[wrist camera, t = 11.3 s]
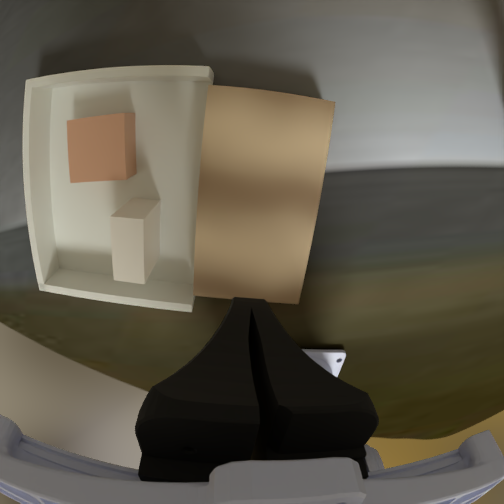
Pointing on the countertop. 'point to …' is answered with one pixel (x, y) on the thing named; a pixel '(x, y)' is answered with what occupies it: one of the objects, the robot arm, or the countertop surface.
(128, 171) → the terracotta tile
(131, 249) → the cream tile
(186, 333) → the countertop surface
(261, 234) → the oak board
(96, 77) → the tray
